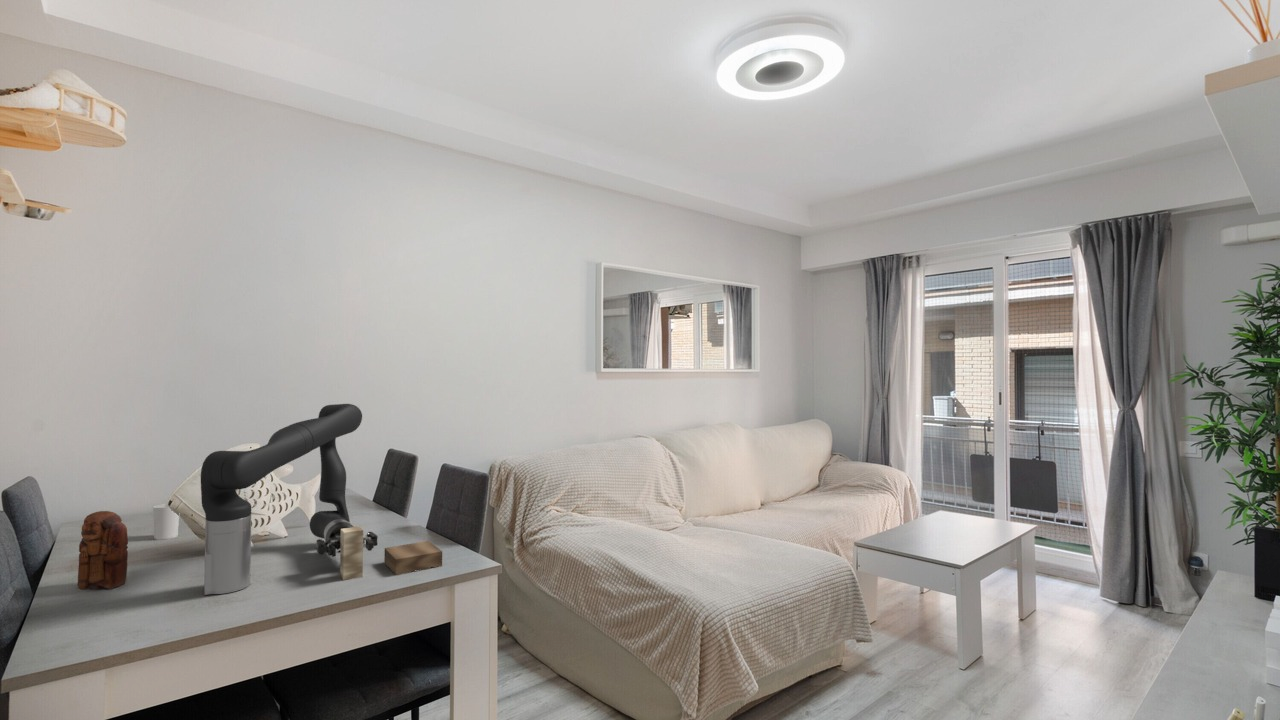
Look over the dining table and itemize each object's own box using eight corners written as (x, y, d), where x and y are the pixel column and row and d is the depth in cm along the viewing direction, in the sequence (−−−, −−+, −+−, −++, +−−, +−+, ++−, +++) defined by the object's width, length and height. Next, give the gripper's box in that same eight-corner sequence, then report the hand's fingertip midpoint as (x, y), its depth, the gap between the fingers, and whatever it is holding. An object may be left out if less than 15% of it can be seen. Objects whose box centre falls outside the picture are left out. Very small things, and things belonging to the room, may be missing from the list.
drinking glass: (179, 533, 191) (179, 501, 192) (179, 537, 186) (180, 505, 186) (152, 536, 187) (153, 504, 187) (152, 541, 182) (153, 508, 182)
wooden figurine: (65, 589, 143) (66, 514, 143) (91, 579, 149) (92, 508, 149) (111, 590, 142) (112, 515, 142) (135, 581, 148) (136, 509, 149)
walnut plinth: (395, 574, 154) (396, 559, 154) (384, 562, 164) (384, 548, 164) (442, 566, 161) (442, 551, 161) (428, 554, 171) (428, 540, 171)
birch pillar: (343, 580, 150) (344, 532, 150) (340, 575, 154) (340, 528, 154) (362, 576, 153) (363, 530, 153) (358, 571, 156) (359, 526, 157)
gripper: (311, 525, 161) (321, 539, 148) (368, 517, 170) (382, 530, 157) (311, 553, 161) (321, 569, 148) (367, 544, 170) (381, 559, 157)
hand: (352, 549), depth 152 cm, fingers open, 8 cm apart
